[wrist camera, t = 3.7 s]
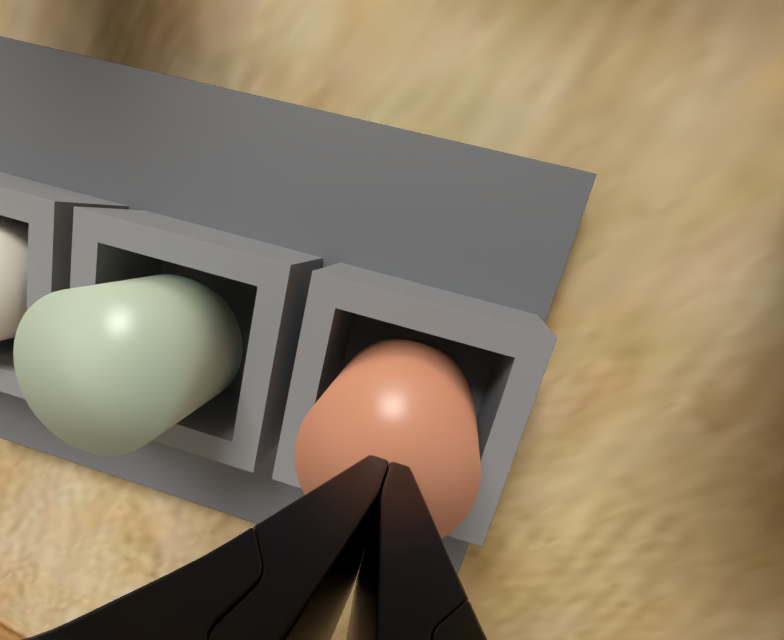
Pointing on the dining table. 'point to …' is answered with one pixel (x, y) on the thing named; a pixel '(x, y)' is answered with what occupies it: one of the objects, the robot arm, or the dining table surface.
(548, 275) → the panel
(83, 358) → the sage button
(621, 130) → the dining table surface
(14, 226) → the cream button
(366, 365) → the rust button
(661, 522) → the dining table surface
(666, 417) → the dining table surface
